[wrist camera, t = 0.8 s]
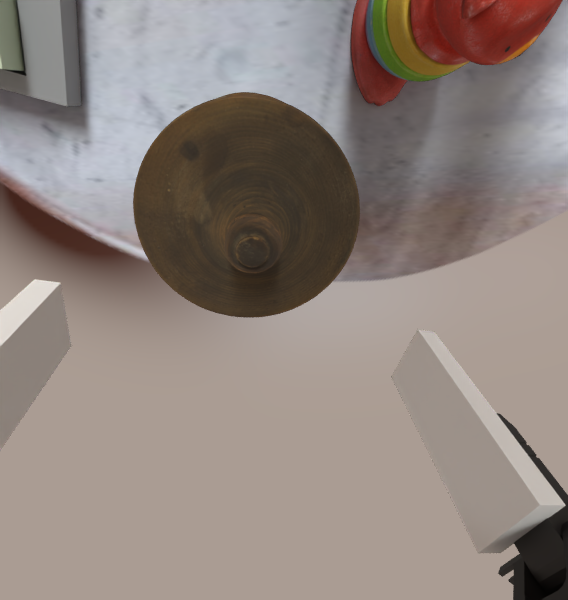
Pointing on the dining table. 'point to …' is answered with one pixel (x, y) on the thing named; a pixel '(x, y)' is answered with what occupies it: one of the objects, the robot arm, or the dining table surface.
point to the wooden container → (246, 206)
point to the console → (47, 53)
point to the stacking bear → (437, 38)
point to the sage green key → (10, 37)
